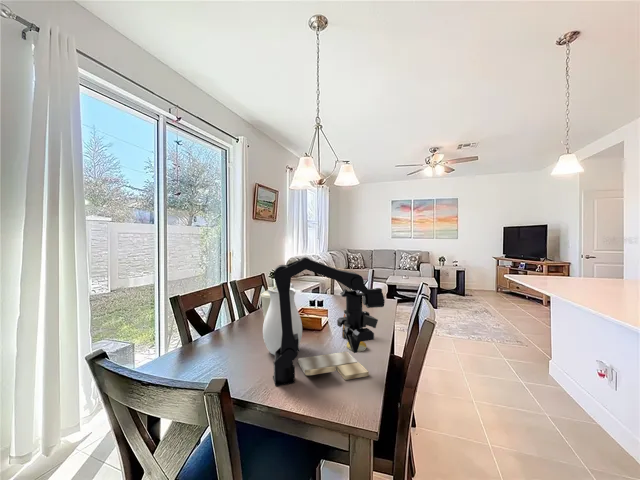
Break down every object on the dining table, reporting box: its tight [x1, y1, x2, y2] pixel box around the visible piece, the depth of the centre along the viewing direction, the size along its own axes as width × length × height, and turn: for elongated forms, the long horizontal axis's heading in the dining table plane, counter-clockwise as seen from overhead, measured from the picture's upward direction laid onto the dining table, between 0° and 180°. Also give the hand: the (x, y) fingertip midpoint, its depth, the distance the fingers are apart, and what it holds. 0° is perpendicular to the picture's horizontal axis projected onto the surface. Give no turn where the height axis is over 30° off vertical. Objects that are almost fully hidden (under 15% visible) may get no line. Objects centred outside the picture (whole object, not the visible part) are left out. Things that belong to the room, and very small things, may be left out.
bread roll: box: [346, 341, 367, 352], centre depth 126 cm, size 8×9×4 cm
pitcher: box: [262, 283, 303, 356], centre depth 126 cm, size 24×17×28 cm
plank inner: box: [304, 366, 337, 376], centre depth 100 cm, size 9×8×2 cm
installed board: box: [297, 351, 359, 375], centre depth 110 cm, size 21×10×2 cm, turn 108°
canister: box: [259, 285, 277, 320], centre depth 163 cm, size 18×18×21 cm
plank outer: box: [336, 362, 370, 381], centre depth 103 cm, size 9×8×2 cm
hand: (354, 352), depth 101 cm, fingers closed
